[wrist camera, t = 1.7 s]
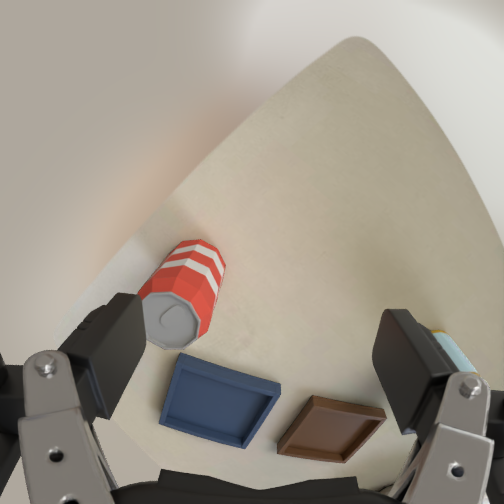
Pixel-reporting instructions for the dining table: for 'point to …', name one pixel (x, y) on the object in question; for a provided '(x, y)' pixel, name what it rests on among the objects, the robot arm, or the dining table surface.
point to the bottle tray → (330, 430)
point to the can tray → (217, 402)
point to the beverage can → (182, 295)
